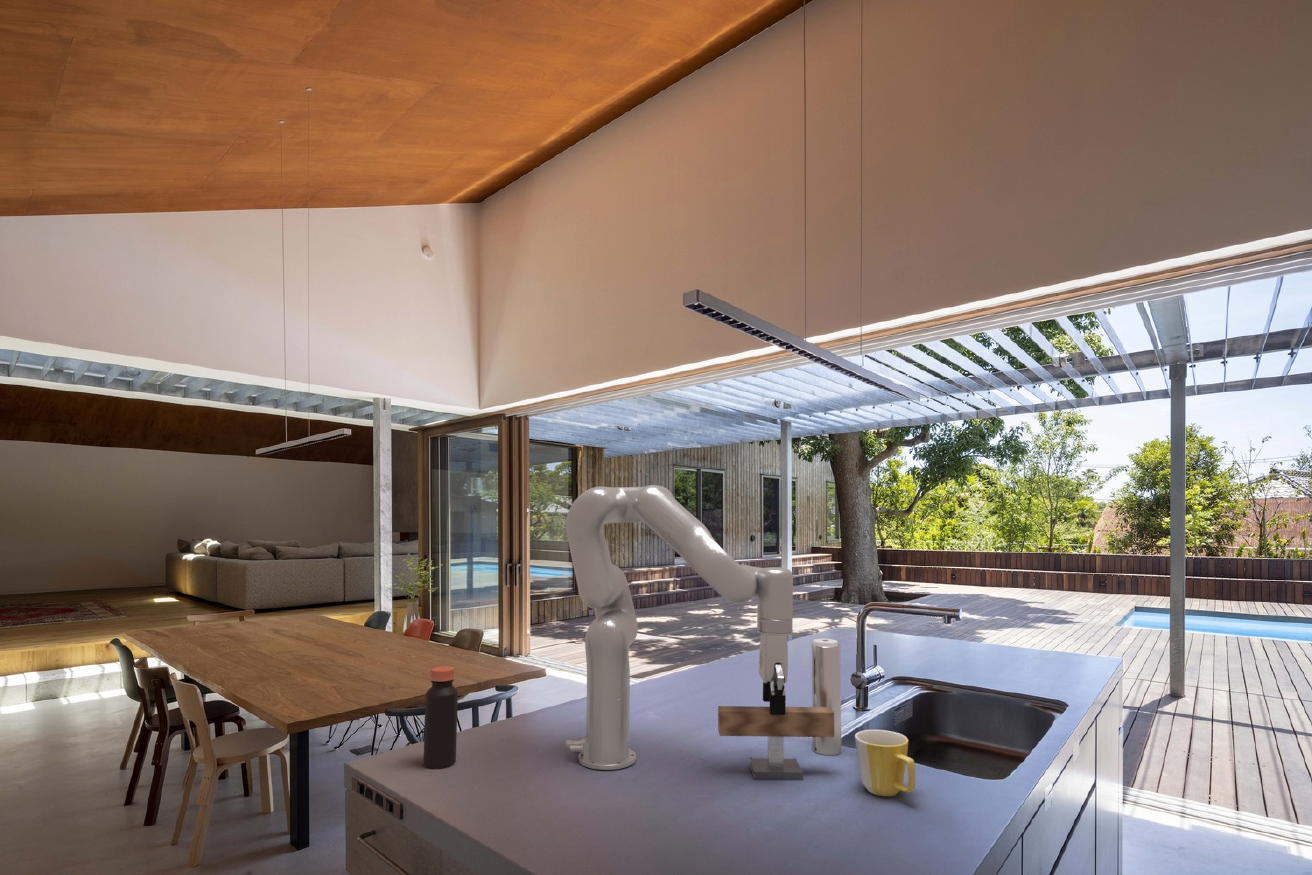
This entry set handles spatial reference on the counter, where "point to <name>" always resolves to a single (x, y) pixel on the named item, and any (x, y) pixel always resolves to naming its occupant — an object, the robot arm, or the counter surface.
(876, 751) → the mug
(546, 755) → the counter surface
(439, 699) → the bottle
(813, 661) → the silver metal cylinder
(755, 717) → the walnut beam
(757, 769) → the ridge
